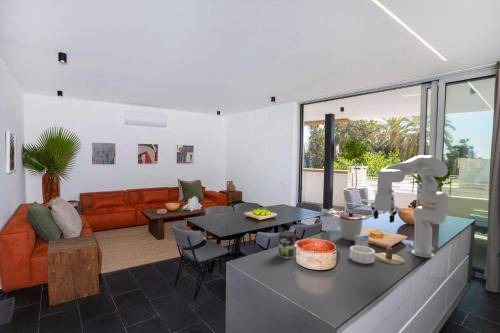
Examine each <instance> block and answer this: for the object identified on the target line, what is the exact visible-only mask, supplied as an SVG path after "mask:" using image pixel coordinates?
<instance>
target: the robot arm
mask: <svg viewBox="0 0 500 333" xmlns="http://www.w3.org/2000/svg"><path fill="white" fill-rule="evenodd" d="M448 172H449V171H448V166H447V165H446V164H445V163H444V162H443V161H442V160H440V159H439V158H437V157H436V156H433V155H416V156H413V157H412V158H409V159H408V160H405V161H402V162H397V163H395V164H394V163H393V164H391V165H388V166H385V167H384V168H381V169H379V170H378V171H377V185H376V186H377V189H376V190H377V191H376V193H375V197H374V202H372V203H370V204H369V205H370V207H371V210H372V212H373V219H374V220H378V219H379V211H382V212H388V213H389V223H394V222H395V216H396V215H397V214H398V213H399V212H400V208H399V207H398V206H396V205H395V196H394V194H393V193H394V189H393V183H401V182H403V181H404V180H405V177H406V176H411V175H414V173H417V175H418V176H419V177H420V180H421V187H420V192H419V198H418V201H419V203H420V204H422V205H423V206H421V205H419V206H416V207H415V208H414V209H413V212H412V214H413V218H414V238H413V239H414V240H413V241H414V243H413V249H412V250H411V251H410V252H411V254H412V255H414V256H418V257H420V258H426V259H427V258H429V259H431V258H434V257H435V254H434V252H432V251H433V250H434V247H433V246H432V243H433V227H432V225H431V224H435V225H443V224H444V223H445V221H446V218H447V213H448V209H449V203H450V200H449V198H450V197H449V195H448V194H447V193H446V192H443V191H437V190H438V182H437V180H436V179H435V178H443V177H445V176H446V175H447V174H448ZM424 205H426V206H424ZM428 206H429V207H428ZM431 206H432V207H431Z"/></svg>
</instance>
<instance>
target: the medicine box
mask: <svg viewBox="0 0 500 333" xmlns="http://www.w3.org/2000/svg"><path fill="white" fill-rule="evenodd" d="M369 242H370V241H369V235H367V234H364V233H363V234H361V235H355V241H354V246H366V247H369Z"/></svg>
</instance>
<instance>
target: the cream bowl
mask: <svg viewBox="0 0 500 333" xmlns="http://www.w3.org/2000/svg"><path fill="white" fill-rule="evenodd" d="M375 254H376V250H375V249H373V248H371V247H369V246H368V247H366V246H355V245H352V246H350V247H349V259H351V261H352V262H356V263H359V264H373V263H375V261H376V259H375Z"/></svg>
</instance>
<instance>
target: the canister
mask: <svg viewBox="0 0 500 333" xmlns="http://www.w3.org/2000/svg"><path fill="white" fill-rule="evenodd" d="M338 219H339V229H340V230H339V231H340V236H341V238H342V239H343V240H346V241H350V242H351V241H352V242H355V238H354V237H355V235H360V234H361V235H362V228H363V221H364V218H363V217H361V216H360V215H356V214H354V213H353V212H352V211H350V212H348V214H341V215H339V216H338Z"/></svg>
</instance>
